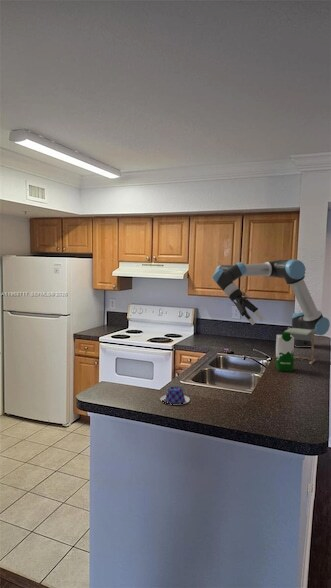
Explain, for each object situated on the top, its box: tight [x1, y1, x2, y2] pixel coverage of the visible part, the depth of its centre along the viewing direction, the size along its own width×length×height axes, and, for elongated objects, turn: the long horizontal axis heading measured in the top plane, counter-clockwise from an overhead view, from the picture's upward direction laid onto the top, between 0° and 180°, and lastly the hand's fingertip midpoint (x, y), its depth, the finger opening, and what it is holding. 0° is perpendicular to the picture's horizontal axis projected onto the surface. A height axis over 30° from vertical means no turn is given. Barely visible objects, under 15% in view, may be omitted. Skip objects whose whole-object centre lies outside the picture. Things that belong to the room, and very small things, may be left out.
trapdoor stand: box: [287, 326, 316, 365], centre depth 216 cm, size 10×15×19 cm
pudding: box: [159, 386, 191, 405], centre depth 152 cm, size 12×12×5 cm
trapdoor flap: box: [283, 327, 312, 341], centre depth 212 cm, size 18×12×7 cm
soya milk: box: [275, 331, 295, 372], centre depth 197 cm, size 9×9×20 cm
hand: (258, 322), depth 203 cm, fingers open, 13 cm apart
